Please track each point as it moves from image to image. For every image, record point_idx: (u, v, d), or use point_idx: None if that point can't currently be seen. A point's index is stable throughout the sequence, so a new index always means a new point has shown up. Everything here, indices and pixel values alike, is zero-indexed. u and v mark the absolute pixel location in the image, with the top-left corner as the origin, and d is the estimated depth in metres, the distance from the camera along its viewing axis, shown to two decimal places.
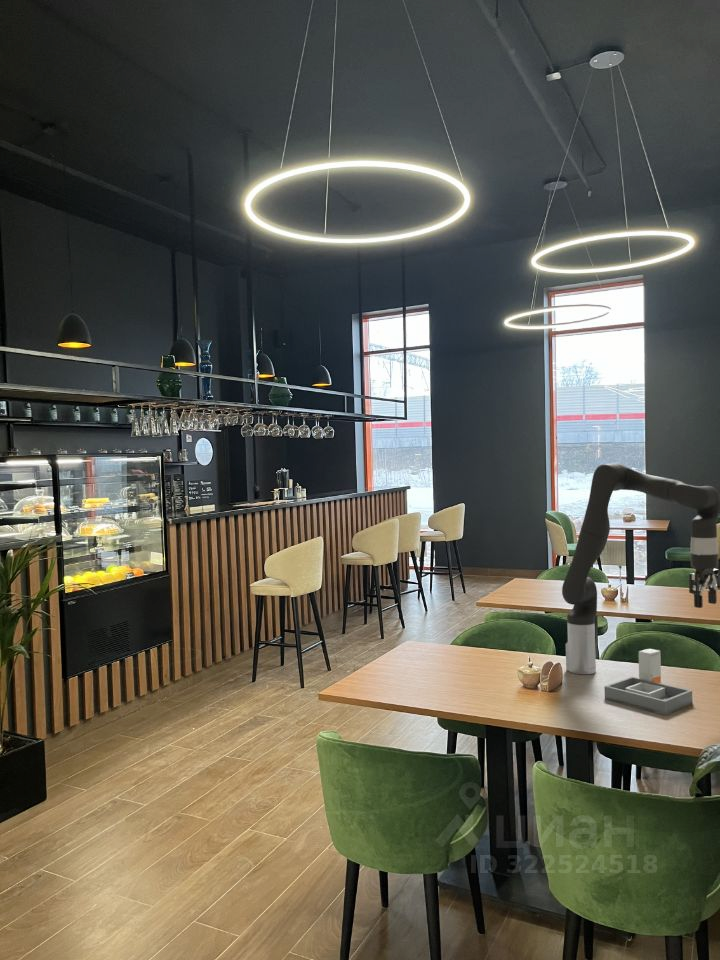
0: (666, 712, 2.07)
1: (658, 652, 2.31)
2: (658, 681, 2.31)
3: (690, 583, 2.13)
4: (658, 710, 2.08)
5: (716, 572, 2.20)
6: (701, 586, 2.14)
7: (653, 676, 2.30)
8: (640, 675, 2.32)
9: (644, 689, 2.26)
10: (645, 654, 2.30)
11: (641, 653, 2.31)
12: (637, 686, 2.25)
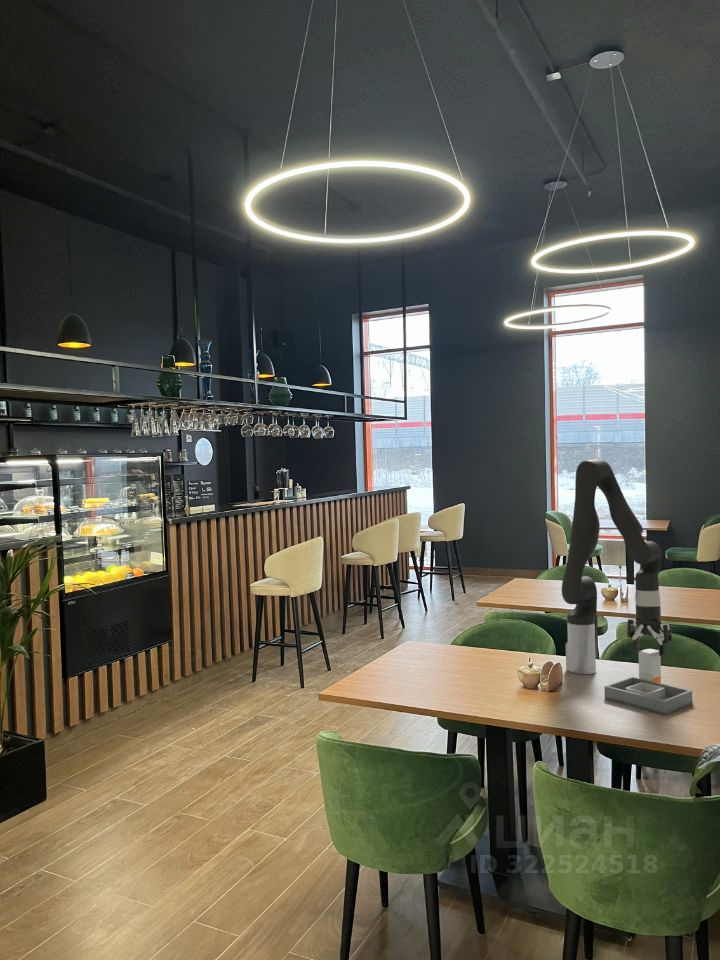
0: (666, 712, 2.07)
1: (658, 652, 2.31)
2: (658, 681, 2.31)
3: (667, 634, 2.26)
4: (658, 710, 2.08)
5: None
6: (662, 635, 2.29)
7: (653, 676, 2.30)
8: (640, 675, 2.32)
9: (644, 689, 2.26)
10: (645, 654, 2.30)
11: (641, 653, 2.31)
12: (637, 686, 2.25)
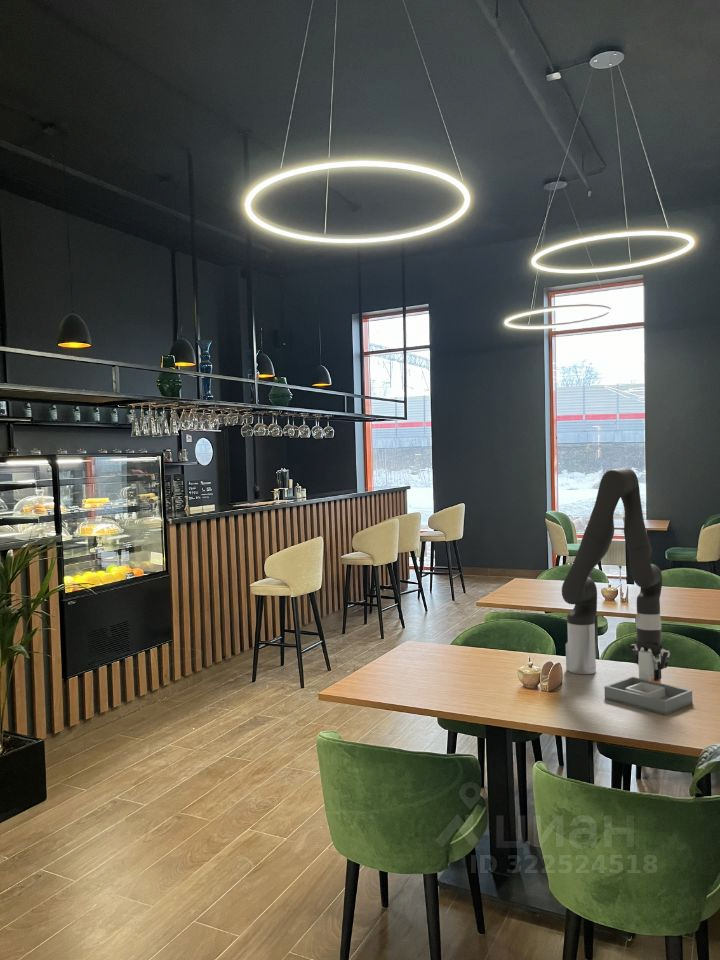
0: (666, 712, 2.07)
1: None
2: (658, 681, 2.31)
3: (665, 661, 2.27)
4: (658, 710, 2.08)
5: None
6: (659, 660, 2.30)
7: (653, 676, 2.30)
8: (640, 675, 2.32)
9: (644, 689, 2.26)
10: (645, 654, 2.30)
11: (641, 653, 2.31)
12: (637, 686, 2.25)
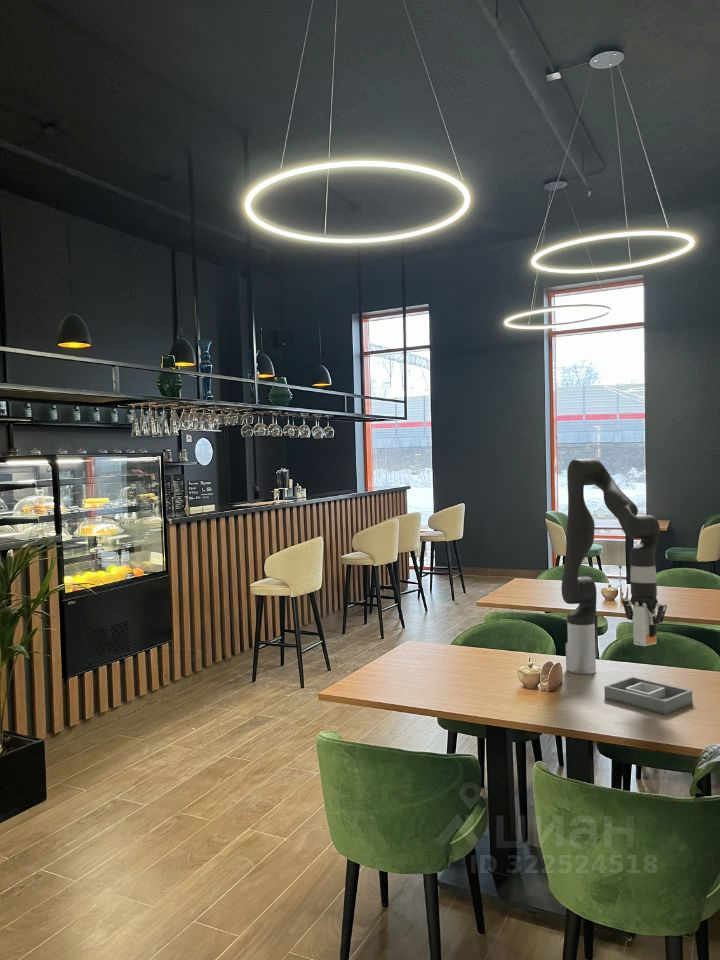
0: (666, 712, 2.07)
1: None
2: (653, 637, 2.21)
3: (661, 615, 2.16)
4: (658, 710, 2.08)
5: None
6: (654, 615, 2.20)
7: (648, 631, 2.19)
8: (635, 631, 2.21)
9: (644, 689, 2.26)
10: (640, 608, 2.20)
11: (635, 608, 2.21)
12: (637, 686, 2.25)
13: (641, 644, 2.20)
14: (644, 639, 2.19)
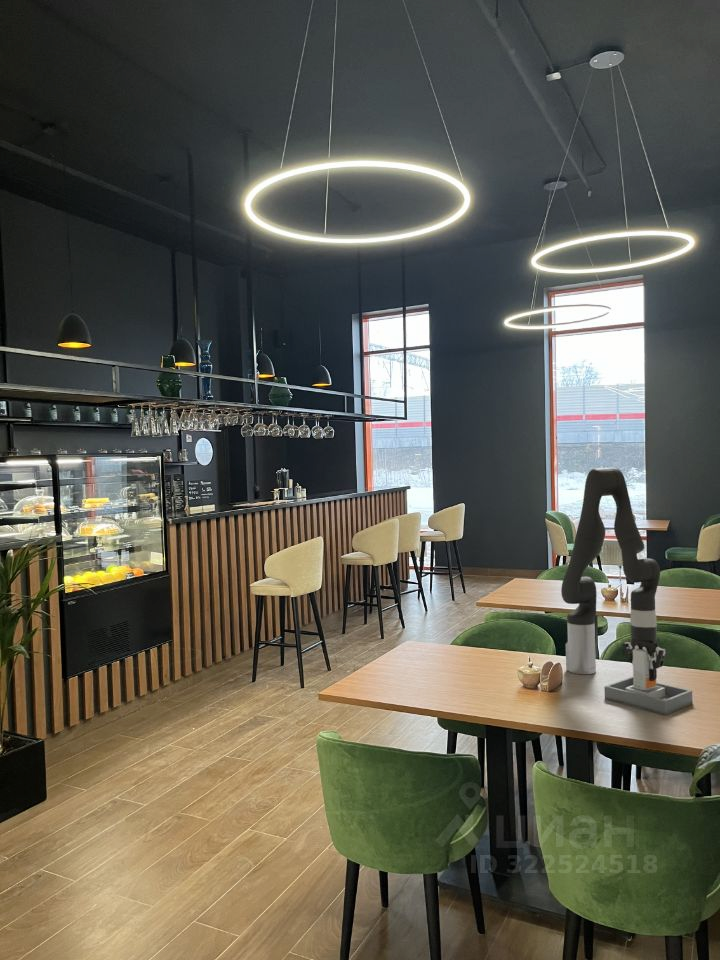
0: (666, 712, 2.07)
1: None
2: (653, 681, 2.21)
3: (661, 660, 2.16)
4: (658, 710, 2.08)
5: None
6: (654, 659, 2.20)
7: (648, 675, 2.19)
8: (634, 674, 2.21)
9: None
10: (639, 652, 2.19)
11: (635, 651, 2.21)
12: None
13: (641, 688, 2.19)
14: (644, 683, 2.18)
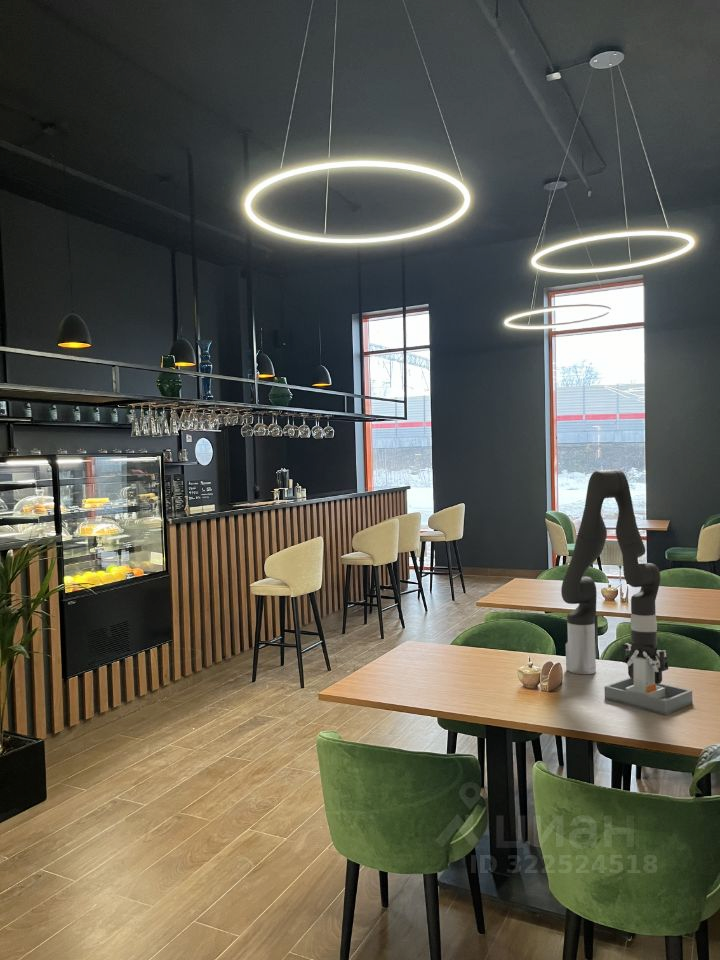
0: (666, 712, 2.07)
1: None
2: (653, 689, 2.21)
3: (664, 661, 2.15)
4: (658, 710, 2.08)
5: None
6: (658, 661, 2.19)
7: (649, 684, 2.19)
8: (635, 683, 2.21)
9: None
10: (640, 661, 2.19)
11: (636, 660, 2.20)
12: None
13: None
14: None
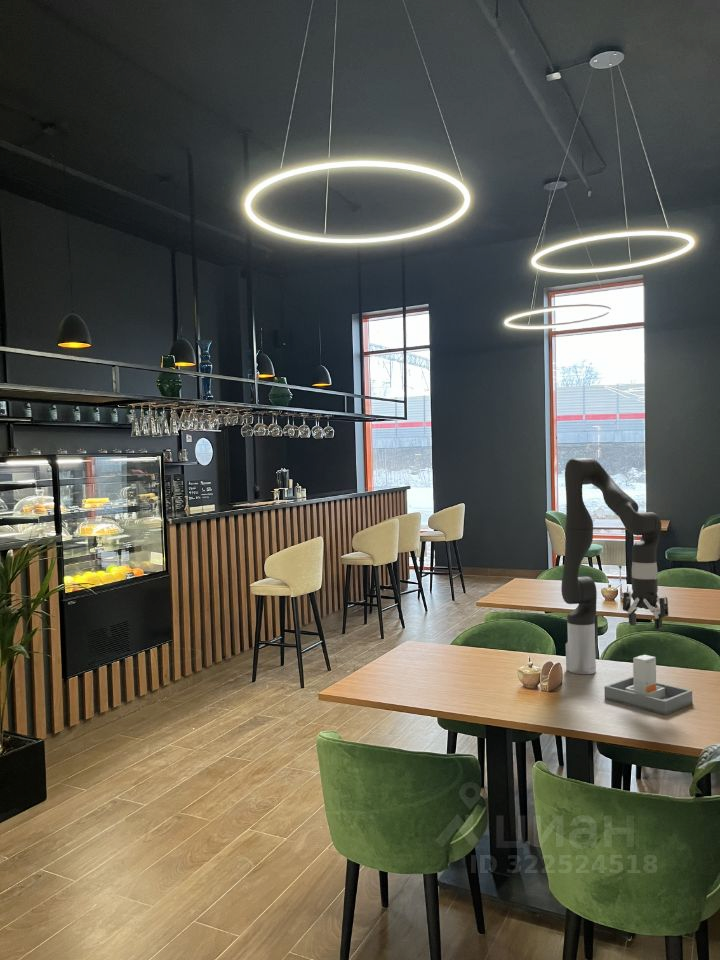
0: (666, 712, 2.07)
1: (653, 658, 2.21)
2: (653, 689, 2.21)
3: (664, 607, 2.18)
4: (658, 710, 2.08)
5: None
6: (658, 608, 2.22)
7: (648, 683, 2.19)
8: (635, 683, 2.21)
9: None
10: (640, 661, 2.19)
11: (636, 660, 2.21)
12: None
13: None
14: None
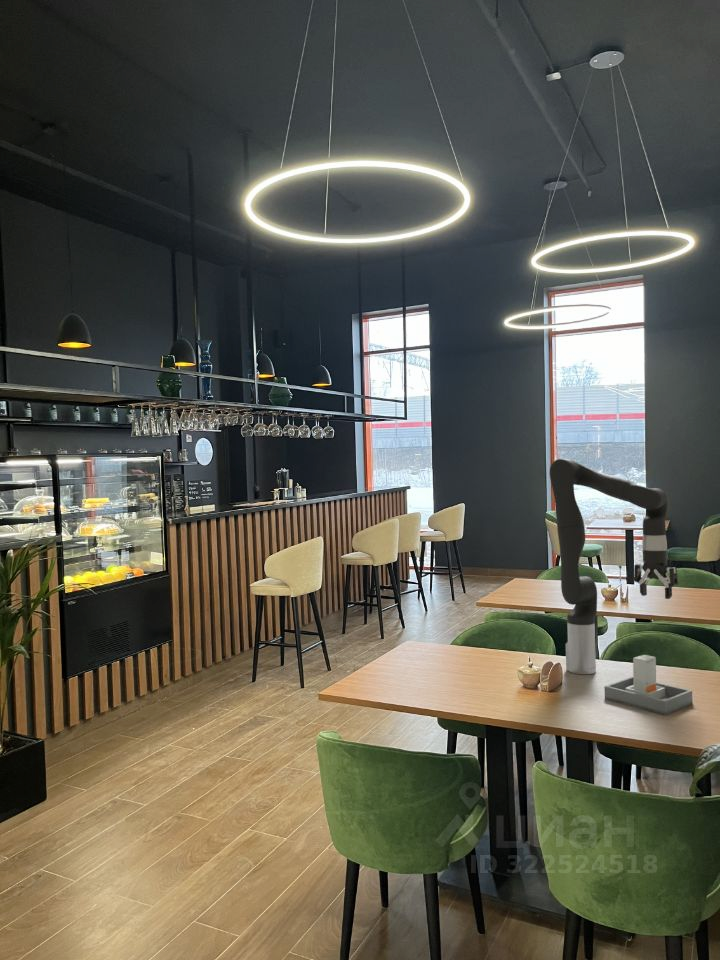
0: (666, 712, 2.07)
1: (653, 658, 2.21)
2: (653, 689, 2.21)
3: (673, 577, 2.32)
4: (658, 710, 2.08)
5: None
6: (668, 578, 2.36)
7: (648, 683, 2.19)
8: (635, 683, 2.21)
9: None
10: (640, 661, 2.19)
11: (636, 660, 2.21)
12: None
13: None
14: None
